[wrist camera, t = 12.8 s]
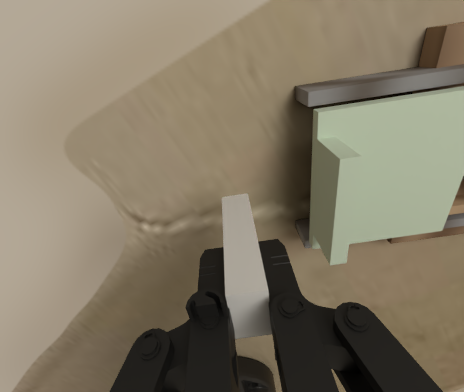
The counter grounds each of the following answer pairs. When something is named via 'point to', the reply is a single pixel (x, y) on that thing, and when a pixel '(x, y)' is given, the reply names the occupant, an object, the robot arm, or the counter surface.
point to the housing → (412, 79)
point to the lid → (384, 169)
